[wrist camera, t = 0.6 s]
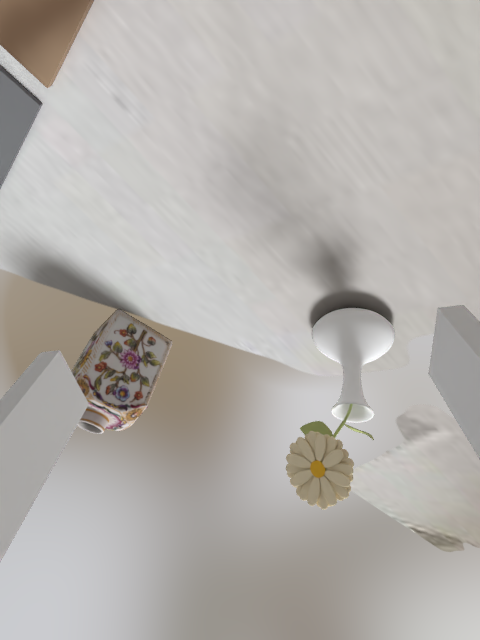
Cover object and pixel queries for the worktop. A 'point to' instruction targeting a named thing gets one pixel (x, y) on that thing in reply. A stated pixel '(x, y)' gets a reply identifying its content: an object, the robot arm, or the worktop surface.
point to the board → (41, 33)
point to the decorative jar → (119, 372)
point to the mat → (14, 119)
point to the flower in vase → (338, 404)
